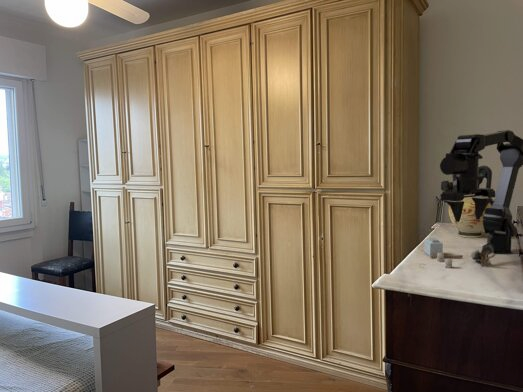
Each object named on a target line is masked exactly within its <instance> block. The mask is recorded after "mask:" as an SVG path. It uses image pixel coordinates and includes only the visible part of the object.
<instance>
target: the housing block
mask: <svg viewBox="0 0 523 392" xmlns="http://www.w3.org/2000/svg"><path fill="white" fill-rule="evenodd" d="M443 248H444V245H443V242H441V241H440V240H439V239H437V238H436V237H428V238H425V239H424V252H425V253H426V254H427V255H428V256H429V257H431V255H437V253H444V252H443V251H444V250H443Z"/></svg>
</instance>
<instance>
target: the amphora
mask: <svg viewBox="0 0 523 392" xmlns="http://www.w3.org/2000/svg"><path fill="white" fill-rule="evenodd" d="M456 176H459V174H452V182H454V181H455V178H456ZM478 176H481V179H480V180H478V188H480V187H481V186H480V185H481V184H482V183H483V181H484V179H486V184H485V185H486V186H485V188H488V189H492V182H493V181H492V179H493V171H492V169H491V167H489V166H487V165H480V166H478ZM472 198H474V197H466V198H464V199H463V200H462V201H464V206H463V210H462V215H461V218H460V221H459V222H456V220H455V217H454V215H453V212H452V209H451V207H450V206H449V205H448V215H449V218H450V221H451V224H452V225H453V227H455V228H456V229H457V231H458V234H457V235H458V236H459V237H463V238H470V239H471V238H472V239H473V238H475V239H477V238H482V237H483V234H482V232H484V227H483V216H484V213H485V210H484V212H483V214H482V215H481V217H480V219H476V216H475V203H474V201H473V200H472ZM493 203H494V199H492V200H491V201H490V202H489V204H488V205H487V207H486V208H490V207H491V206H492V205H493ZM486 208H485V209H486Z"/></svg>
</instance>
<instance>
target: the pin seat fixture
mask: <svg viewBox="0 0 523 392" xmlns="http://www.w3.org/2000/svg"><path fill="white" fill-rule="evenodd" d="M430 259H436V261H437V262H444V267H445V268H447V269H452V268H453V259H455V260H457V259H463V255H462V254H447V253H446V252H443V253H437V255H431V256H430Z"/></svg>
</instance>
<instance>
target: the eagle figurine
mask: <svg viewBox="0 0 523 392" xmlns="http://www.w3.org/2000/svg"><path fill="white" fill-rule="evenodd" d="M494 249H495V248H494V246H493V244H492V243H487V242H486V243H485V244H484V245H482V247H481V250H479V249H477V250H474V251H473V252H471V259H472V260H474V261H480V263H481V265H480V267H484V266H485V264H486V263H487V264H489V265H491V266H492V261H491V260H490V259H493V258H494V257H495V256H496V254H497V253H493V252H494ZM491 254H492V255H491ZM489 255H490V256H489Z"/></svg>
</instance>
